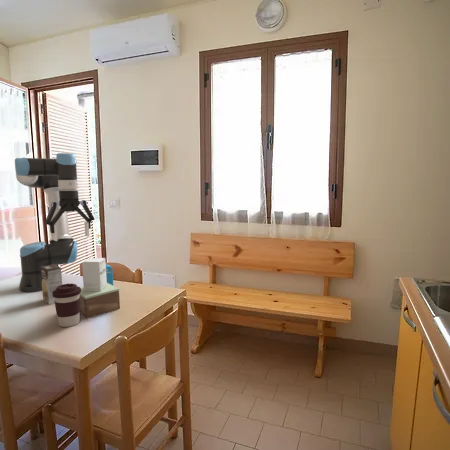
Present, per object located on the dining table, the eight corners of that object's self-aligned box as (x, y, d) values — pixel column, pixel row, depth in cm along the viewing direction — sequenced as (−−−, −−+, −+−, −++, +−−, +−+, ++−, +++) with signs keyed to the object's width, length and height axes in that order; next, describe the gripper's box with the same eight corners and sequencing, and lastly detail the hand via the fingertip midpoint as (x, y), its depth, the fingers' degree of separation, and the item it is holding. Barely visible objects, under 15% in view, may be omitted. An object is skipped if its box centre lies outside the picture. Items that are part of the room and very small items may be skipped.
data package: (88, 293, 161) (87, 269, 159) (87, 290, 165) (85, 267, 163) (113, 288, 167) (112, 265, 166) (111, 286, 171) (110, 264, 170)
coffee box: (42, 300, 152) (39, 266, 150) (56, 296, 157) (54, 263, 155) (49, 304, 146) (46, 270, 144) (64, 300, 151) (61, 267, 149)
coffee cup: (54, 331, 120) (50, 291, 118) (56, 320, 129) (52, 284, 127) (83, 326, 124) (80, 288, 122) (83, 316, 133) (80, 280, 131)
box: (74, 308, 141) (72, 291, 140) (105, 300, 151) (104, 283, 150) (87, 318, 131) (85, 299, 130) (120, 308, 141) (118, 290, 140)
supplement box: (101, 291, 136) (99, 261, 134) (83, 291, 136) (81, 262, 134) (107, 285, 143) (105, 257, 141) (90, 285, 143) (88, 257, 142)
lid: (71, 290, 140) (71, 288, 140) (104, 283, 150) (104, 281, 150) (85, 299, 129) (85, 297, 129) (119, 290, 139) (119, 288, 139)
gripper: (39, 191, 129) (43, 243, 133) (100, 189, 147) (103, 235, 150) (33, 190, 134) (37, 241, 138) (93, 188, 152) (95, 233, 155)
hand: (71, 238), depth 144 cm, fingers open, 13 cm apart
